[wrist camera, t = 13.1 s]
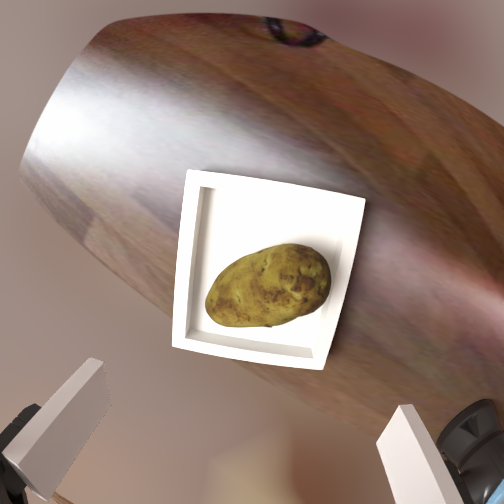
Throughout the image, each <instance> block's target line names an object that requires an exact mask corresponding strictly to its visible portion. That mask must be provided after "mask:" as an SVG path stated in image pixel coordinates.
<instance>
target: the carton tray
mask: <svg viewBox="0 0 504 504" xmlns="http://www.w3.org/2000/svg"><path fill="white" fill-rule="evenodd" d="M365 200H366V199H364V198H359V197H355V196H350V195H345V194H341V193H336V192H331V191H326V190H321V189H316V188H311V187H305V186H300V185H294V184H288V183H283V182H277V181H270V180H264V179H258V178H251V177H244V176H237V175H229V174H222V173H214V172H205V171H196V170H187V177H186V184H185V192H184V199H183V207H182V216H181V225H180V234H179V244H178V255H177V266H176V279H175V294H174V312H173V335H172V346H173V347H178V348H182V349H187V350H191V351H196V352H201V353H206V354H211V355H217V356H221V357H227V358H233V359H238V360H244V361H251V362H257V363H264V364H272V365H279V366H288V367H296V368H306V369H317V370H323V367H324V364H325V361H326V358H327V355H328V352H329V349H330V346H331V342H332V339H333V336H334V333H335V329H336V326H337V322H338V319H339V315H340V312H341V308H342V305H343V301H344V297H345V293H346V289H347V285H348V281H349V277H350V273H351V269H352V265H353V260H354V256H355V251H356V247H357V242H358V237H359V232H360V227H361V222H362V217H363V211H364V205H365ZM288 243H294V244H300V245H305V246H308V247H312V248H313V249H314V250H316V251H317V252H319V253H320V254H321V255H322V256H323V257H324V258H325V259H326V261H327V262H328V265H329V267H330V272H331V289H330V292H329V295H328V297H327V300H326V302H325V303H324V304H323V305H322V306H321V307H320V308H318V309H317V310H316V311H315V312H313V313H310V314H308V315H305V316H301V317H297V318H296V319H294V320H292V321H290V322H288V323H285V324H283V325H279V326H273V327H272V328H267V327H247V328H233V327H225V326H221V325H219V324H217V323H215V322H214V321H213V320H212V319H211V318H210V317H209V315H208V314H207V312H206V309H205V300H206V297H207V294H208V292H209V290H210V288H211V286H212V285H213V283H214V281H215V279H216V278H217V276H218V275H219V274H220V273H221V272H222V271H223V270H224V269H225V268H226V267H227V266H228V265H230V264H232V263H233V262H235V261H236V260H238V259H239V258H241V257H243V256H246V255H249V254H253V253H255V252H258V251H260V250H262V249H265V248H268V247H272V246H276V245H280V244H288Z"/></svg>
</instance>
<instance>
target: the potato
mask: <svg viewBox="0 0 504 504" xmlns="http://www.w3.org/2000/svg"><path fill="white" fill-rule="evenodd" d="M330 289H331V272H330V267H329V265H328V262H327V261H326V259H325V258H324V257H323V256H322V255H321V254H320V253H319V252H317V251H316V250H314V249H313V248H312V247H308V246H305V245H300V244H294V243H288V244H280V245H276V246H272V247H268V248H265V249H262V250H260V251H258V252H255V253H253V254H249V255H246V256H243V257H241V258H239V259H238V260H236V261H235V262H233V263H232V264H230V265H228V266H227V267H226V268H225V269H224V270H223V271H222V272H221V273H220V274H219V275H218V276H217V278H216V279H215V281H214V283H213V285H212V286H211V288H210V290H209V292H208V294H207V297H206V300H205V309H206V312H207V314H208V315H209V317H210V318H211V319H212V320H213V321H214V322H215V323H217V324H219V325H221V326H225V327H233V328H247V327H267V328H272V327H273V326H279V325H283V324H285V323H288V322H290V321H292V320H294V319H296V318H297V317H301V316H305V315H308V314H310V313H313V312H315V311H316V310H317V309H318V308H320V307H321V306H322V305H323V304H324V303H325V302H326V300H327V297H328V295H329V292H330Z"/></svg>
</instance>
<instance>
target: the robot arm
mask: <svg viewBox="0 0 504 504" xmlns="http://www.w3.org/2000/svg"><path fill="white" fill-rule="evenodd" d="M110 407H111V401H110V397H109V390H108V385H107V379H106V372H105V366H104V362H102V361H99V360H96V359H94V358H91V357H90V358H89V359H88V360H87V361H86V362H85V363H84V364H83V365H82V366H81V367H80V368H79V369H78V370H77V371H76V372H75V373H74V374H73V375H72V376H71V377H70V378H69V379H68V380H67V381H66V382H65V383H64V384H63V385H62V386H61V388H60V389H59V390H58V391H57V392H56V393H55V394H54V395H53V396H52V397H51V398H50V399H49V400H48V401H47V402H46V404H45V405H44V406H43V407H40V406H38V405H37V404H32V405H30V406H28V407H26V408H25V409H23V410H22V412H21V413H20V414H19V415H18V417H16V418H15V419H14V420H13V421H12V423H10V424H9V425H8V426H7V427H6V428H5V429H4V431H3V432H2V433H1V434H0V504H28V500H27V496H26V492H25V490H24V488H25V487H26V486H28V487H29V488H30V490H31V491H32V492H33V493H35V494H36V495H38V496H39V497H41V498H42V499H44V500H46V501H47V502H48V501H49V500H50V498H51V497H52V495H53V493H54V492H55V490H56V488H57V487H58V485H59V484H60V482H61V481H62V479H63V477H64V476H65V474H66V473H67V471H68V470H69V468H70V467H71V465H72V464H73V462H74V461H75V459H76V457H77V456H78V454H79V453H80V451H81V450H82V448H83V447H84V445H85V444H86V442H87V440H88V439H89V438H90V436H91V434H92V433H93V432H94V430H95V429H96V427H97V426H98V424H99V423H100V421H101V420H102V418H103V417H104V415H105V414H106V413H107V411H108V410H109V408H110ZM376 444H377V447H378V450H379V453H380V456H381V459H382V462H383V465H384V467H385V471H386V474H387V477H388V480H389V483H390V486H391V489H392V492H393V495H394V499H395V502H396V504H502V503H503V502H504V431H503V430H502V428H501V425H500V422H499V418H498V415H497V412H496V408H495V406H494V405H493V404H492V402H491V401H490V400H481V401H478V402H476V403H474V404H472V405H471V406H469V407H468V408H466V409H465V410H464V411H462V412H461V413H460V414H459V415H457V416H456V417H455V418H454V419H453V420H452V421H451V422H450V423H449V424H448V425H447V426H446V428H445V429H444V430H443V432H442V433H441V435H440V436H439V438H438V441H437V448H438V449H439V451H440V453H441V454H442V455H443V456H445V457H446V458H447V459H448V460H447V461H443V460H442V458H441V456H440V454H439V452H438V450H437V448H436V446H435V444H434V442H433V441H432V439H431V437H430V435H429V433H428V431H427V430H426V428H425V426H424V424H423V422H422V421H421V419H420V417H419V415H418V413H417V412H416V410H415V408H414V406H413V405H412V404H408V405H399V406H398V408H397V410H396V411H395V413H394V415H393V417H392V418H391V420H390V422H389V423H388V425H387V427H386V428H385V430H384V432H383V433H382V435H381V436H380V438H379V439H378V441H377V442H376ZM449 460H450V461H451V462H452V463H454V464H455V465H456V466H457V467H458V469H459V471H460V473H461V474H459V472H458V470H457V468H456V466H454V465H453V464H452V463H451V462H450V461H449Z"/></svg>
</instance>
